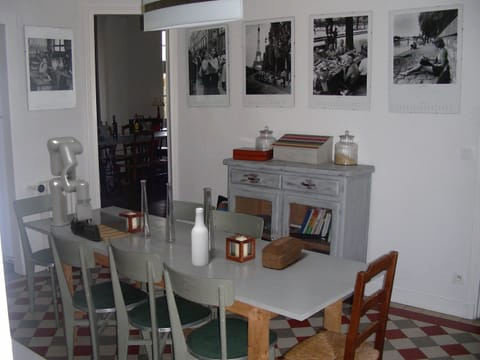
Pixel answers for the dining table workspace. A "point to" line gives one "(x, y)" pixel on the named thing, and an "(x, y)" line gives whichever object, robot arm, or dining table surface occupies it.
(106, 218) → the shelf wall
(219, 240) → the dining table surface
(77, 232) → the magazine
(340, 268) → the dining table surface
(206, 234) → the alcohol
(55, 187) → the robot arm
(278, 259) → the bread
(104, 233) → the shelf board
